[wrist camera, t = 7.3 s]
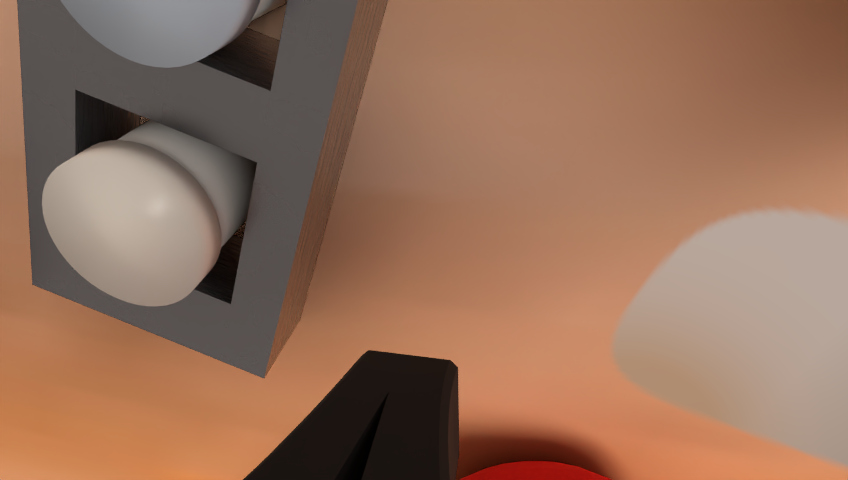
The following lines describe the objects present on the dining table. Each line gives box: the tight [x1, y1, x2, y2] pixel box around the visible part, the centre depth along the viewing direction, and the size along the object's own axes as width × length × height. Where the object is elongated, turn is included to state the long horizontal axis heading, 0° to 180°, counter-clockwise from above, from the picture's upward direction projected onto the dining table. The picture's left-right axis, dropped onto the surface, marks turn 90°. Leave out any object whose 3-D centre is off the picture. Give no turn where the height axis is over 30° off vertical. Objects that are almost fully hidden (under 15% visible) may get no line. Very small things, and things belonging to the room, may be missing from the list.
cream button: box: [42, 119, 257, 306], centre depth 18 cm, size 4×4×4 cm
